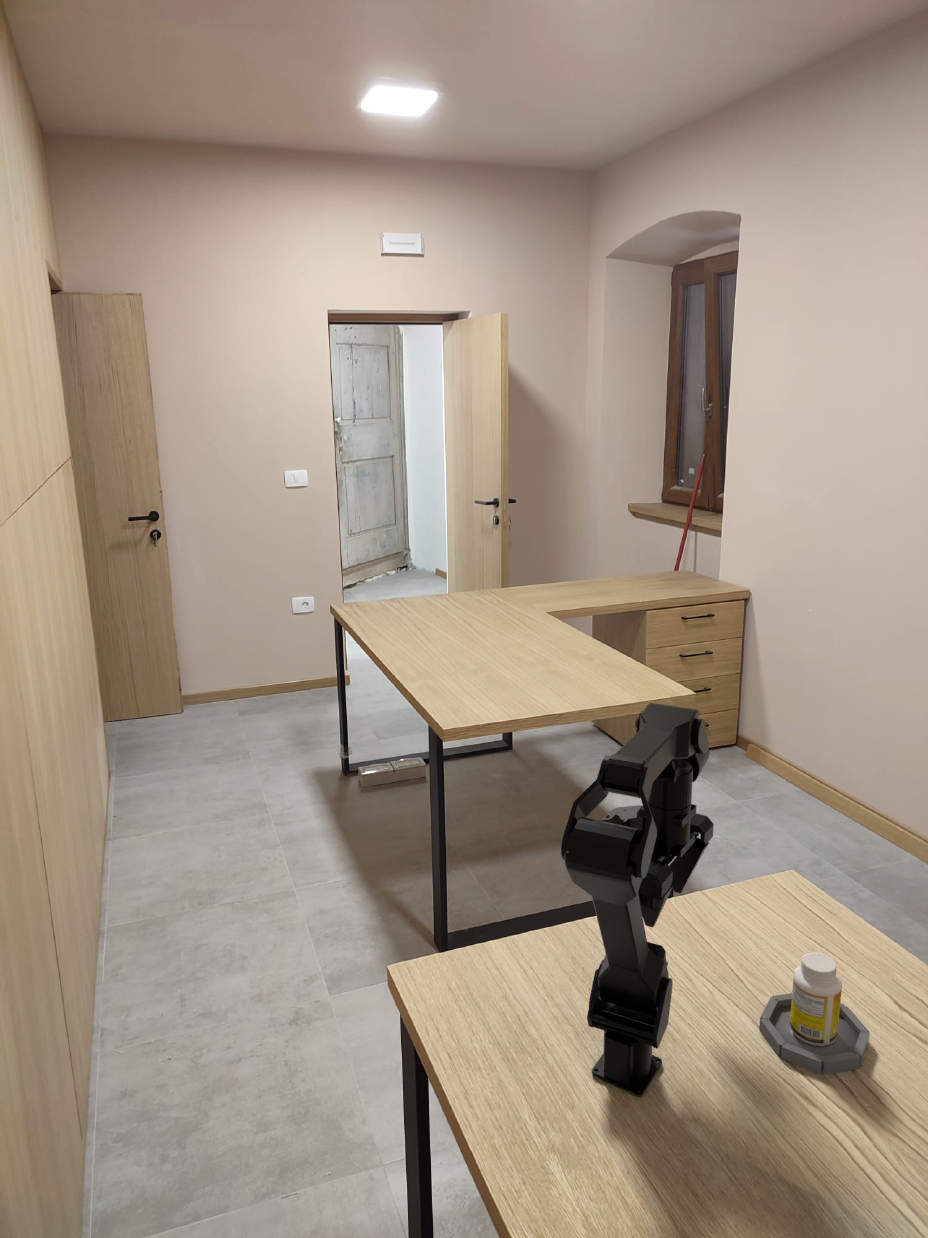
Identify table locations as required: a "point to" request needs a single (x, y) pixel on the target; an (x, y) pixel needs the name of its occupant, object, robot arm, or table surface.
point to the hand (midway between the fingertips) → (663, 908)
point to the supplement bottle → (816, 1000)
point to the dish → (823, 1059)
